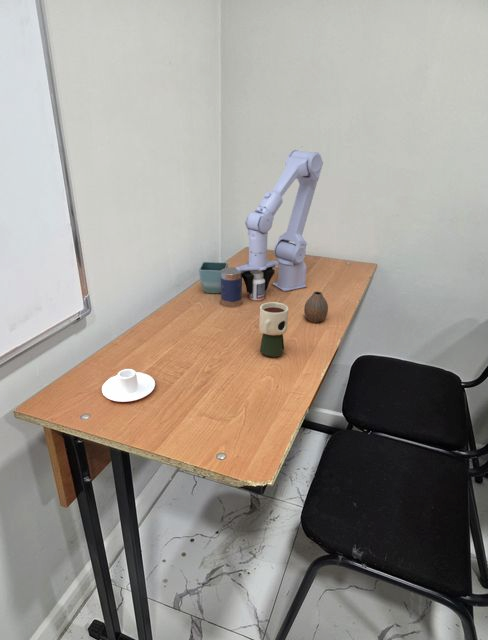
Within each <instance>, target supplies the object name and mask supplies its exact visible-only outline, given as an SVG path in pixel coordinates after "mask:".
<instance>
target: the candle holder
mask: <svg viewBox="0 0 488 640" xmlns="http://www.w3.org/2000/svg"><path fill="white" fill-rule="evenodd" d="M155 387H156V382H155V379H154V378H153V377H152V376H151V375H149V374H147V373H145V372H139V371H136V370H135V369H132V368H123V369H122V370H120V371H118V372H117V374H116V375H114V376H110V377H109V378H108V379H107V380H106V381H105V382H104V383H103V384H102V386H101V393H102V395H103V396H104V397H105V398H106V399H108V400H111V401H114V402H119V403H120V402H121V403H126V402H127V403H128V402H133V401H137V400H140V399H143V398H145V397H147V396H148V395H150V394H151V393H152V392H153V390H155Z"/></svg>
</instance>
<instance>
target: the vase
mask: <svg viewBox="0 0 488 640" xmlns="http://www.w3.org/2000/svg"><path fill="white" fill-rule="evenodd" d="M303 311H304V316H305V318H306V320H308V321H309V322H310V323H314V324H318V323H322V322H323V321H324V320H325V319H326V318H327V315H328V313H329V305H328V302H327V299H326V298H325V297H324V296H323V293H322V292H321V291H317V290H316V291H313V293H312V294H311V296H309V298H308V299H307V300H306V302H305V304H304V309H303Z"/></svg>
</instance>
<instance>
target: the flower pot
mask: <svg viewBox="0 0 488 640" xmlns="http://www.w3.org/2000/svg"><path fill="white" fill-rule="evenodd" d="M228 266H229V263H228V262H219V261H217V262H216V261H215V262H214V261H203V262H201V265H200V267H199V269H198V274H199V280H200V284H201V287H202V289H203V291H204V292H205V293H206V294H221V270H222V269H224V268H229V267H228Z"/></svg>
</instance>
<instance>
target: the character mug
mask: <svg viewBox="0 0 488 640" xmlns="http://www.w3.org/2000/svg"><path fill="white" fill-rule="evenodd" d="M288 320H289V307H288V305H287V304H285V303H282V302H279V301H278V302H277V301H268V302H264V303H262V304H260V306H259V321H258V325H259V326H258V327H259V328H258V329H259V332H261V333H262V336H261V341H260V346H259V347H260V348H259V351H260V353H261V354H263V355H266V356H268V357H272V358H277V357H281V356H283V353H284V351H285V344H284V343H285V342H284V334H286V333H287V331H288V327H289V326H288V322H289V321H288Z"/></svg>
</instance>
